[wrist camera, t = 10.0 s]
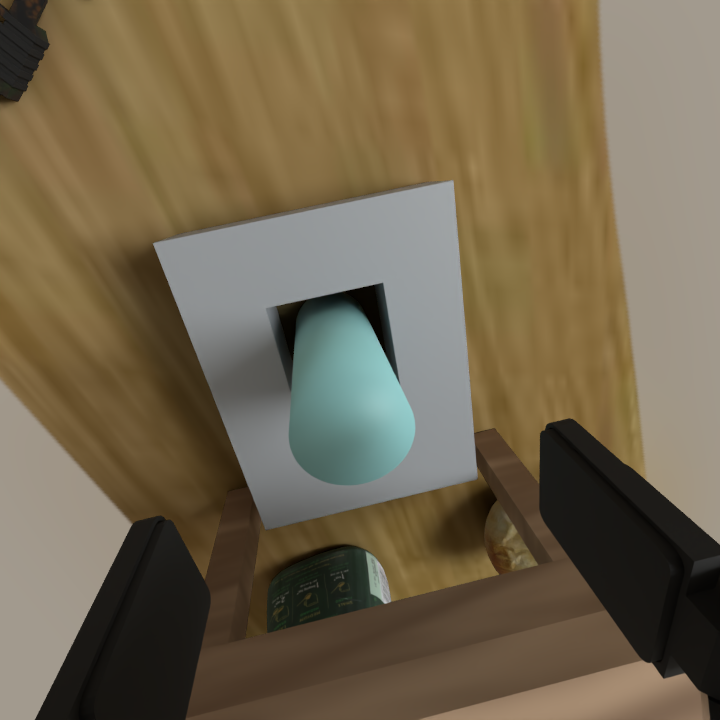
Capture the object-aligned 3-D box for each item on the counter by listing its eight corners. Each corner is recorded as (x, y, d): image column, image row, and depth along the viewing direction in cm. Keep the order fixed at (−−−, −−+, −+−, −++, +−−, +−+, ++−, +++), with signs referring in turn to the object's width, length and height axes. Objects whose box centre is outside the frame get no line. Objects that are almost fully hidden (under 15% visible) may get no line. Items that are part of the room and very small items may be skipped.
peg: (287, 299, 24) (272, 394, 13) (359, 283, 24) (406, 364, 13) (305, 364, 25) (305, 497, 15) (372, 349, 26) (422, 469, 15)
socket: (178, 234, 21) (152, 243, 18) (428, 181, 22) (453, 180, 18) (270, 487, 29) (265, 530, 25) (456, 443, 29) (477, 479, 26)
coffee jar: (296, 627, 35) (287, 1031, 18) (256, 571, 32) (200, 1000, 15) (397, 589, 35) (484, 963, 18) (368, 529, 32) (439, 917, 15)
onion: (457, 491, 31) (504, 583, 24) (552, 450, 31) (628, 530, 24) (484, 551, 34) (532, 648, 27) (570, 514, 34) (642, 603, 27)
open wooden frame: (206, 440, 27) (59, 814, 11) (491, 375, 27) (749, 631, 12) (238, 516, 30) (160, 900, 14) (496, 455, 30) (707, 749, 14)
